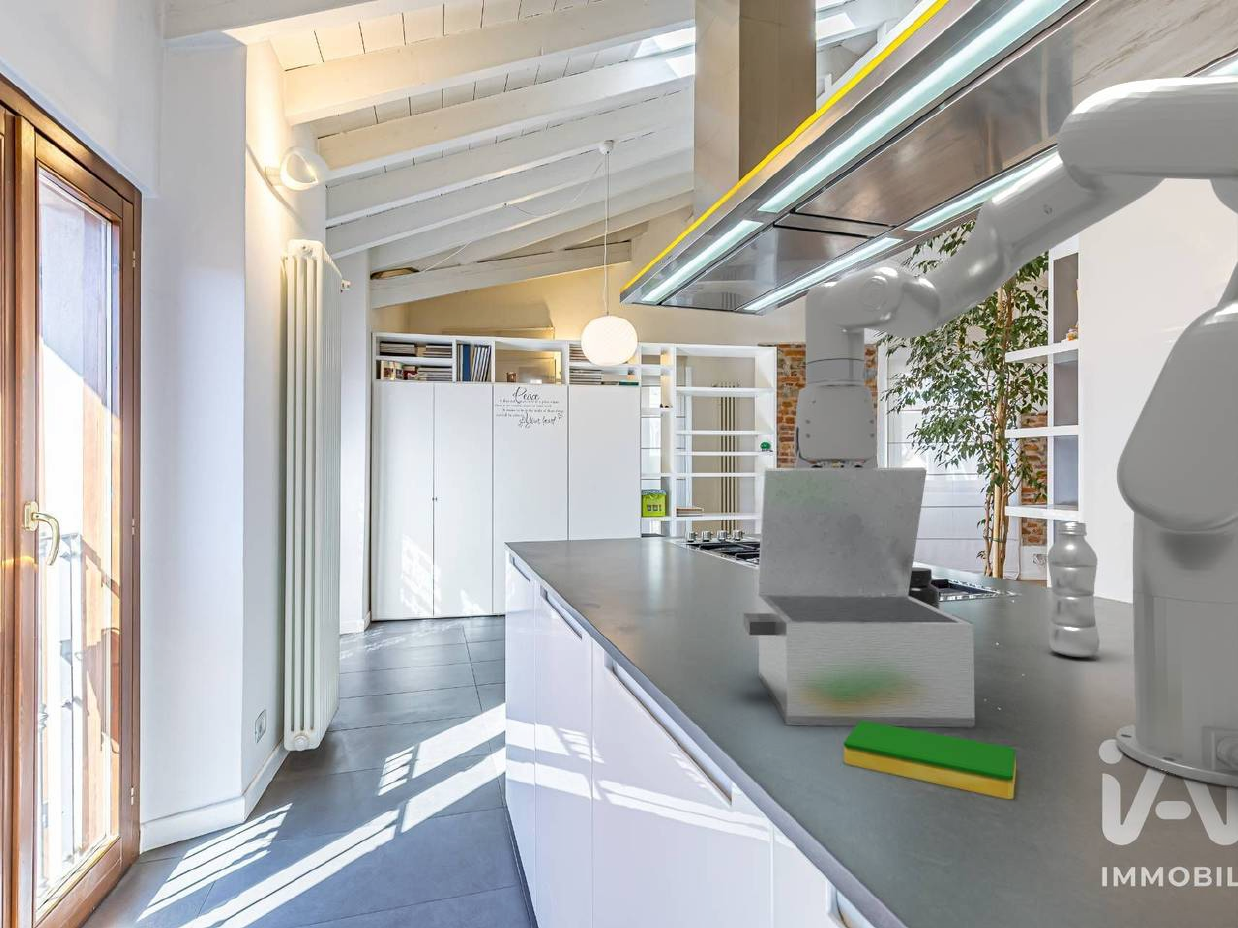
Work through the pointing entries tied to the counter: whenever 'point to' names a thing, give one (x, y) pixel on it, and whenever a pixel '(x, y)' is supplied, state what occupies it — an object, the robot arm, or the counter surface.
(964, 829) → the counter surface
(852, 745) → the dish sponge
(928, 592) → the supplement bottle
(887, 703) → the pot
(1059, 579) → the plastic bottle
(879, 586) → the lid
